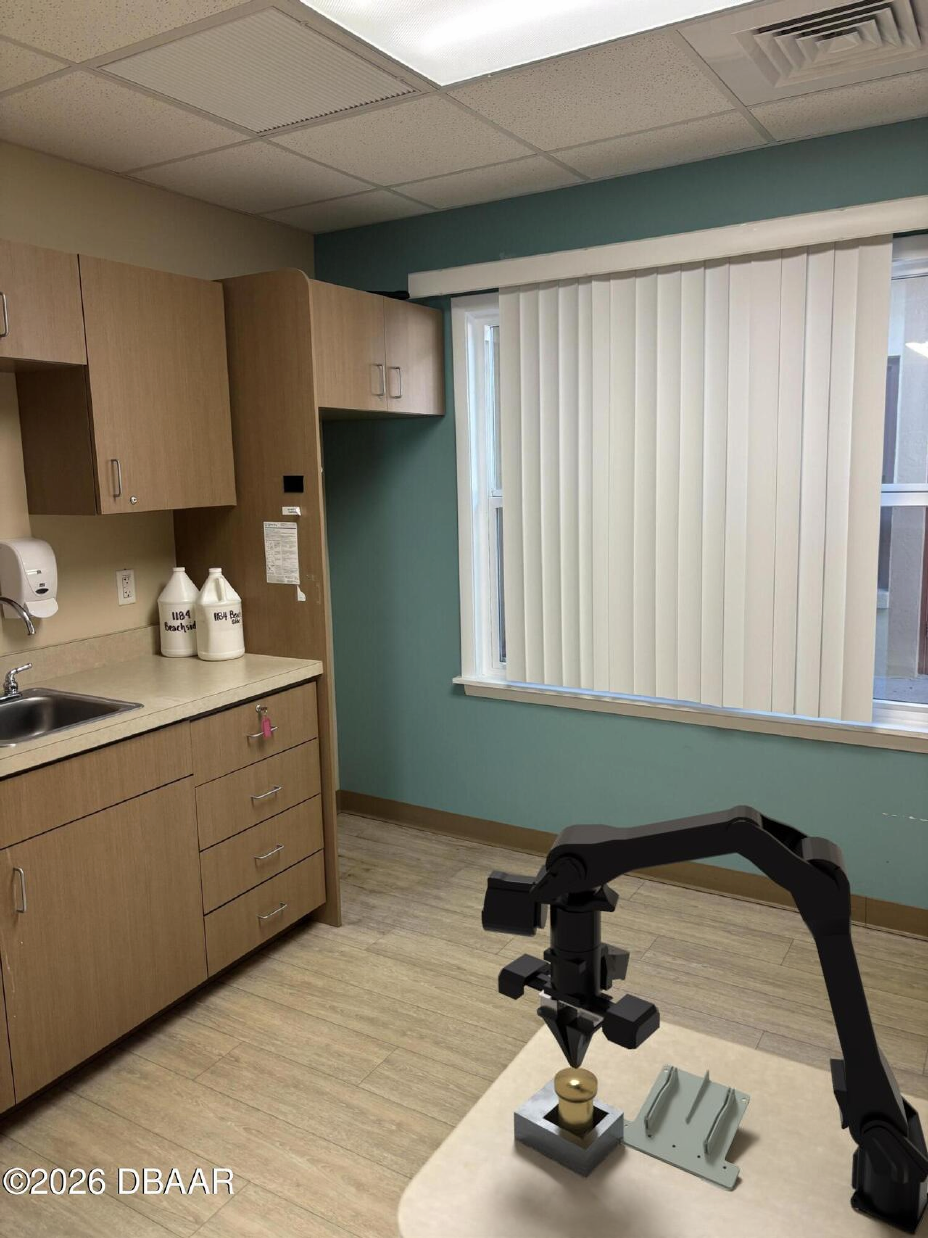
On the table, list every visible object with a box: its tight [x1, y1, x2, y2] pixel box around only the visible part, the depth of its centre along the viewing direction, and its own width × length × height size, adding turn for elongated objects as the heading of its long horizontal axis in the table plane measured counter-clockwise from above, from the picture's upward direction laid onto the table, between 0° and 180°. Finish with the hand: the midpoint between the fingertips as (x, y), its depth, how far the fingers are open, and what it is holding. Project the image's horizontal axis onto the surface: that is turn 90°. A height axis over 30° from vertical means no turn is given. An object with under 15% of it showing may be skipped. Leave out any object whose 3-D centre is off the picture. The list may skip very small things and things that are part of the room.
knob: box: [553, 1066, 599, 1139], centre depth 110 cm, size 5×5×8 cm
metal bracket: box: [619, 1064, 751, 1192], centre depth 112 cm, size 14×6×15 cm
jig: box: [513, 1077, 625, 1179], centre depth 111 cm, size 10×8×4 cm
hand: (575, 1066), depth 109 cm, fingers closed
